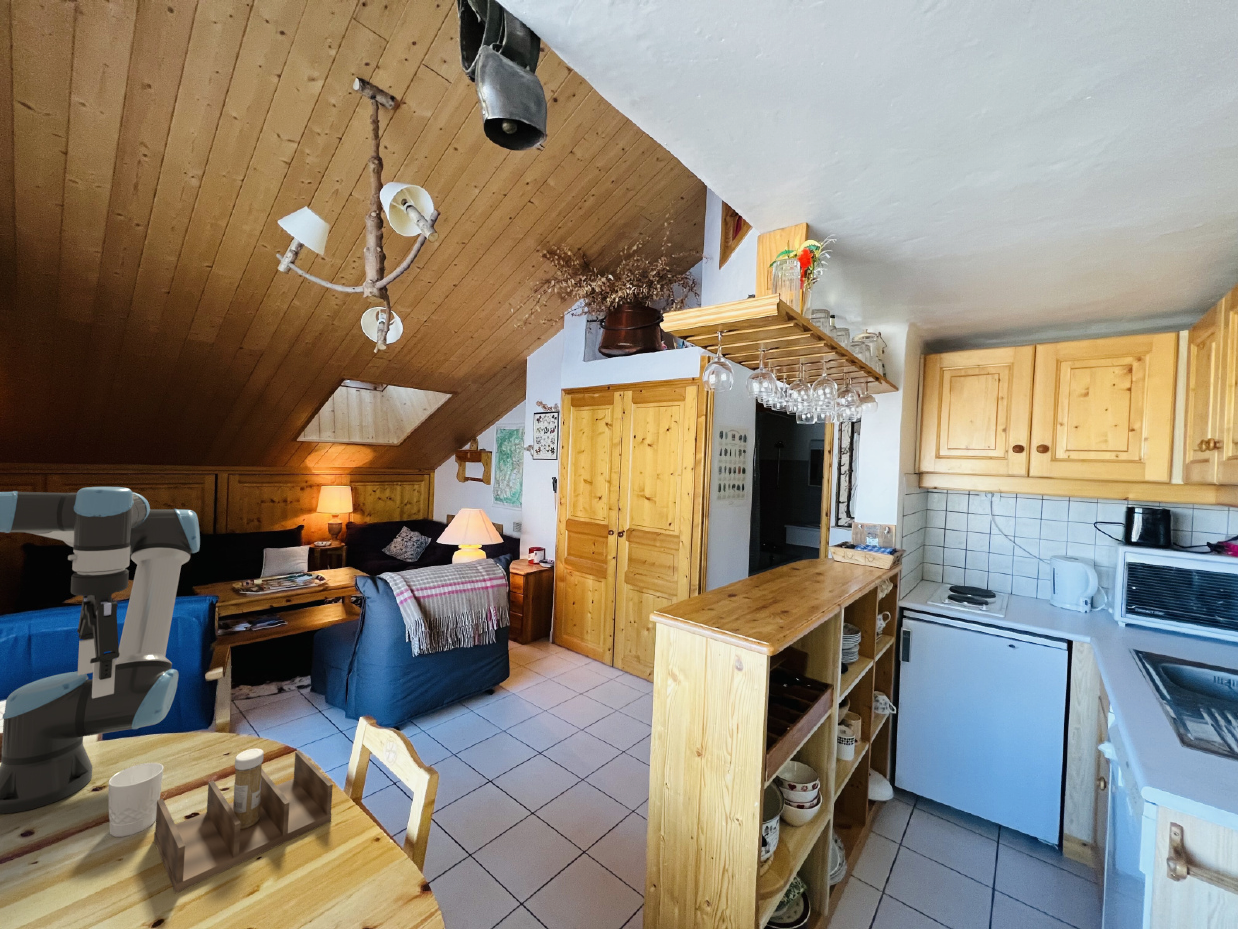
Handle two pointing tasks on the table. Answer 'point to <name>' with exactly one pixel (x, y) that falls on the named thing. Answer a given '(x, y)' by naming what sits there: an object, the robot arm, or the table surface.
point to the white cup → (134, 798)
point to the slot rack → (217, 833)
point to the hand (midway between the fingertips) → (95, 683)
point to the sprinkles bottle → (248, 786)
